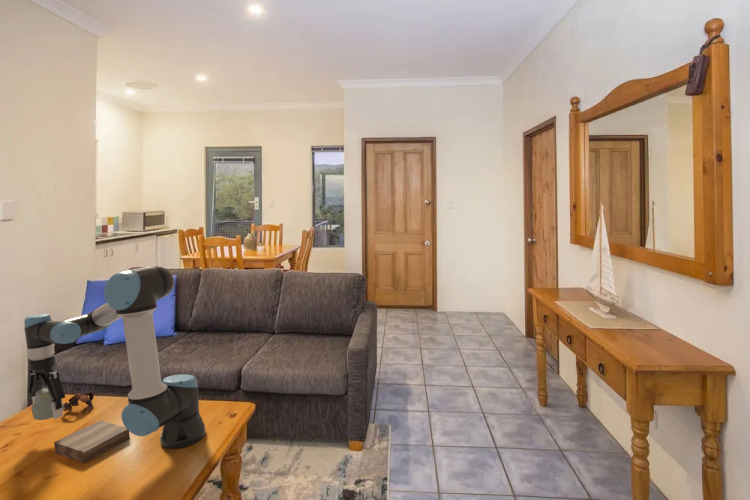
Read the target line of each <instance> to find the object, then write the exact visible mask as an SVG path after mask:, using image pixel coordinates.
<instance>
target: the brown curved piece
mask: <svg viewBox="0 0 750 500" xmlns="http://www.w3.org/2000/svg"><path fill="white" fill-rule="evenodd" d="M93 400H94V393H93V392H92V391H91V390H89V391H86V392H85V393H83V394H81V393H76V394H75V395H73V396H72V397H71V398H69V399H68V400H67V401H66V402H64V403H63V405H64V410H63V412H67V411H70V412H71V410H72V409H73V407H78V406H79V405H80V404H79V401H80V402H81V403H85V405H87V406H86V407H85V408H84V410H85V411H86V413H87V414H88V413H90V412H91V410H93V409H94V405H93V403H92V401H93Z"/></svg>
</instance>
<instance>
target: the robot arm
mask: <svg viewBox="0 0 750 500" xmlns="http://www.w3.org/2000/svg"><path fill="white" fill-rule="evenodd" d="M174 286H175V279H174V276H173V274H172V272H170V270H168V269H167V268H165V267H162V266H158V265H154V266H153V265H152V266H147V267H142V268H134V269H128V270H123V271H121V272H116V273H114V274H113V275H111V276H110V277H109V279H108V280H107V281H106V282H105V285H104V290H103V291H104V293H103V296H104V300H105V303H104V304H102V305H100V306H99V307H97V308H95V309H94V310H92V311H90V312H89V313H86V314H82V315H79V316H78V315H77V316H75V317H71V318H67V319H64V320H58V321H57V320H52V317H51V315H50V314H49V313H38V314H33V315H28V316H27V317H25V318H24V327H23V329H24V334H25V335H24V336H25V342H26V343H25V344H26V351H27V359H29V360H28V367H29V370H28V383H27V394H28V395H29V394H30V396H31V398H32V406H33V405H34V404H35V403H36V394H35V393H36V392H37V391H38V390H41V389H43V388H42V387H43V386H44V387H45V386H46V387H45V388H47V389H48V391H49V393H50V395H51V397H52V399H53V400H52V401H51V402H52V410H53V418H52V419H53V420H56V419H58V418H61V417H63V416H64V413H63V412H64V411H62V403H61V400H62V399H64V398H66V393H65V390H64V388H63V385H62V382H61V379H60V372H59V371H55V372H54V371H53V370H54V369H53V368H54V367H55V366H56V365H57V362H56V356H55V344H59V345H63V344H72V343H74V342H76V340H78V339H79V338H81V337H83V336H86V335H87V336H88V335H91V334H93V333H97V332H101V331H103V330H105V329H108V328H110V326H111V324H112V323H114V322H116V321H118V320H120V319H122V326H123V332H124V339H125V346H126V353H127V360H128V367H129V373H130V374H129V376H130V382H131V391H130V392H129V393H128V394H127V400H128V401H127V402H128V404H127V405H126V406H125V407H124V408H123V410H121V416H120V417H121V421H122V424H123V425H124V426H123V427H126V428H127V430H129V433H131V434H133V435H134V436H137V437H146V436H149V435H151V434H152V433H154V432H156V431H158V430H159V429H160V428H162V430H161V432H160V436H159V441H160V445H161V446H162V447H164V448H166V449H173V450H174V449H182V448H185V447H189V446H192V445H195V444H197V442H199V441H201V440H202V439H203V438H204V437H205V435H206V425H205V423H204V420H203V419H202V417H201V413H200V404H199V384H198V380H197V377H196V376H195V375H192V374H173V375H169V376H167V377H164V378H163V379H162V376H161V369H160V368H161V367H160V361H159V360H160V359H159V352H158V344H157V337H156V331H155V330H156V329H155V323H154V316H153V314H154V312H155V310H156V309H157V308H158V305H157V301H160V300H161V299H163V298H165V297H167V296H168V295H169V294H171V292H172V291H173V289H174Z"/></svg>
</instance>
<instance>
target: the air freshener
mask: <svg viewBox="0 0 750 500" xmlns="http://www.w3.org/2000/svg"><path fill="white" fill-rule="evenodd" d="M35 394H36V403H35V404H34V405H33V404H32V405H31V407H30V408H31V413H32V418H33V419H34V420H36V421H43V420H49V419H53V410H52V402H51V401H52V400H53V399H52V397H51V395H50V393H49V391H48V389H47V387H43V388H41V390H38V391H37V392H36V393H35ZM61 403H62V412H64V402H63V400H62V399H61Z"/></svg>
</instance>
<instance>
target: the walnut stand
mask: <svg viewBox="0 0 750 500" xmlns="http://www.w3.org/2000/svg"><path fill="white" fill-rule="evenodd" d="M130 438H131V437H130V431H129V430H127V428H126V427H125V426H122V425H119V424H115V423H111V422H108V421H104V420H98V421H96V422H94V423H92V424H89V425H87V426H85V427H83V428H81V429H79V430H77V431H75V432H73V433H71V434H69V435H66V436H64V437H63V438H60V439H58V440H56V441H54V442H53V444H54V445H53V446H54V453H55V454H56V455H59V456H62V457H65V458H68V459H71V460H74V461H77V462H80V463H82V464H87V463H89V462H91V461H92V460H94V459H96V458H97V457H99V456H101V455H103V454H105V453H106V452H108V451H110V450H111V449H113V448H116V447H118V446H119V445H121V444H122V443H125V442H126V441H128V440H130Z"/></svg>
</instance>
